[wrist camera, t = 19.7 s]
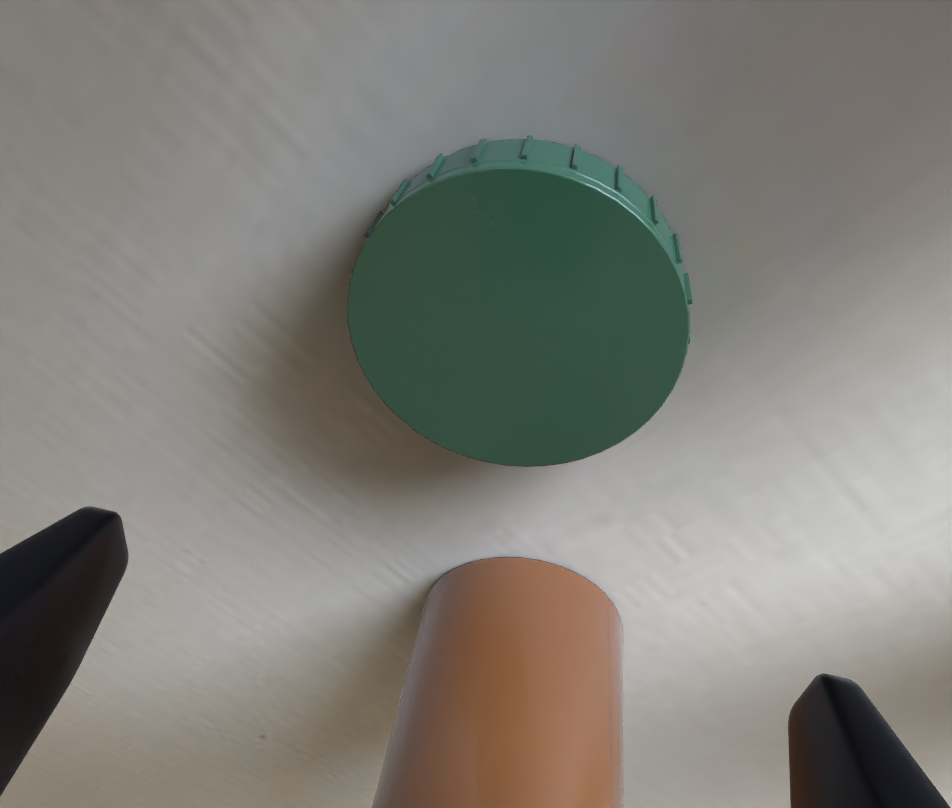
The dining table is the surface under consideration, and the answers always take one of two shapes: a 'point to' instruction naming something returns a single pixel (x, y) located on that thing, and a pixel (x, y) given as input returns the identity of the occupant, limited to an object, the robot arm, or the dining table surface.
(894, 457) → the dining table surface
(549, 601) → the honey jar
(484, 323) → the jar lid
